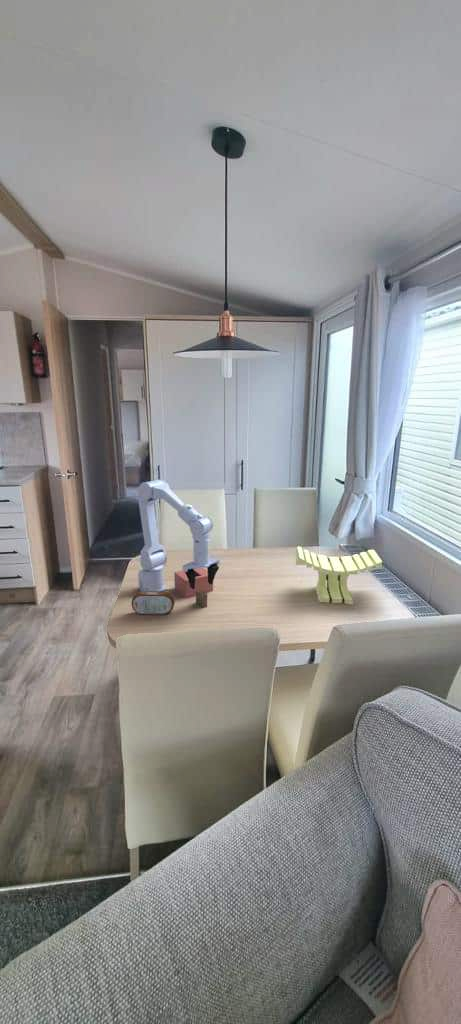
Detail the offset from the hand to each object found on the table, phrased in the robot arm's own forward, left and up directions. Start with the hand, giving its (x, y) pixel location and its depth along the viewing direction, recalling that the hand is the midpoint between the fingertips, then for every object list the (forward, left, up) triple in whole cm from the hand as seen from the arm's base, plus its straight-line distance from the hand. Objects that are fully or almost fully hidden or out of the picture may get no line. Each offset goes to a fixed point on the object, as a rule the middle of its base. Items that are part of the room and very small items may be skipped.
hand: (201, 585), depth 160 cm
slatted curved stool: (+49, -20, -8) cm, 53 cm away
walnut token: (0, 0, -8) cm, 8 cm away
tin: (-18, +3, -8) cm, 20 cm away
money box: (+4, +13, -8) cm, 16 cm away
